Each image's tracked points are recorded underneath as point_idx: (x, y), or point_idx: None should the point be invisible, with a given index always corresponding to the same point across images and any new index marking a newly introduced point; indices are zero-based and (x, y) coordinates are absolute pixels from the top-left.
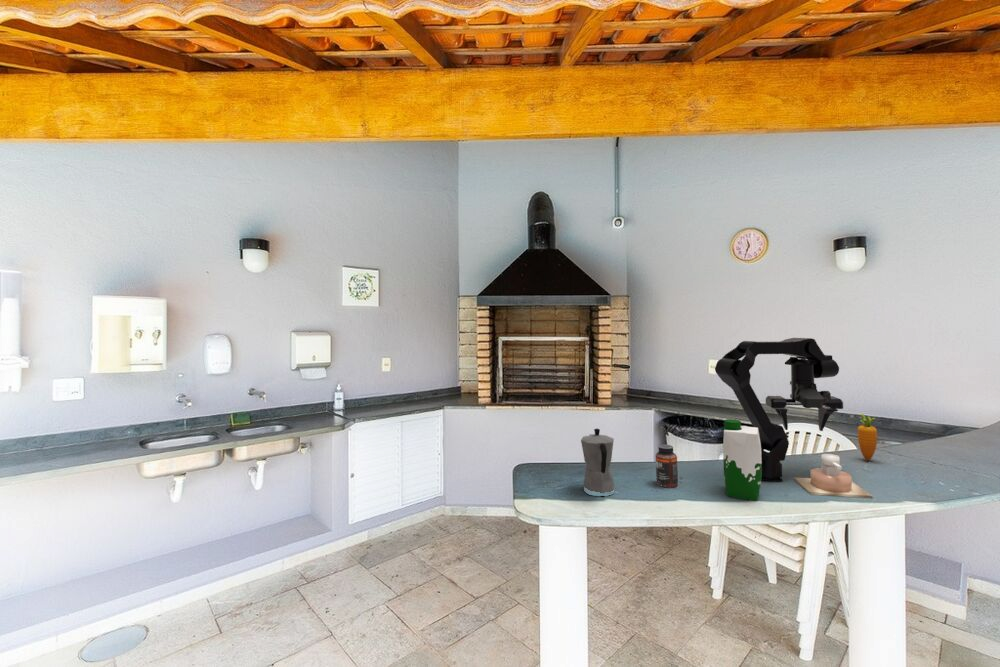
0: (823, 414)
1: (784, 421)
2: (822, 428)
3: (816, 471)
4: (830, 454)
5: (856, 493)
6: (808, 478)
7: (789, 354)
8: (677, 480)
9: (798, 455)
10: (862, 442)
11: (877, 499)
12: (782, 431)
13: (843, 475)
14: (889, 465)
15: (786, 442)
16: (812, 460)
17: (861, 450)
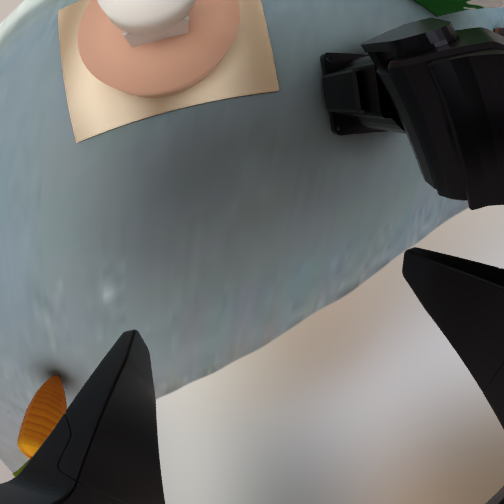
0: (88, 495)
1: (484, 264)
2: (120, 346)
3: (213, 24)
4: (133, 8)
5: None
6: (226, 93)
7: None
8: (501, 34)
9: (216, 368)
10: (51, 414)
11: (51, 12)
12: (491, 51)
13: (108, 17)
14: (17, 357)
15: (417, 33)
16: (180, 341)
17: (61, 397)
